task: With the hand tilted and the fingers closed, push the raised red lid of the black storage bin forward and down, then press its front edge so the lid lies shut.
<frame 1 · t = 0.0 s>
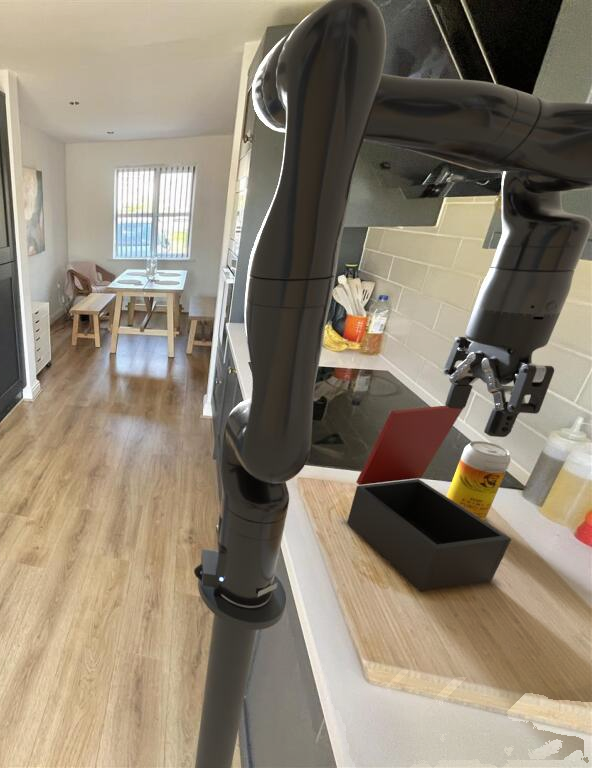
hand: (473, 420, 56), 28 cm above the countertop, tool pointing down, fingers open, 8 cm apart
lid: (407, 446, 69), point 17 cm above the countertop, hinge at 80.0°
beer can: (462, 515, 78), on the countertop
black storage bin: (412, 549, 70), on the countertop
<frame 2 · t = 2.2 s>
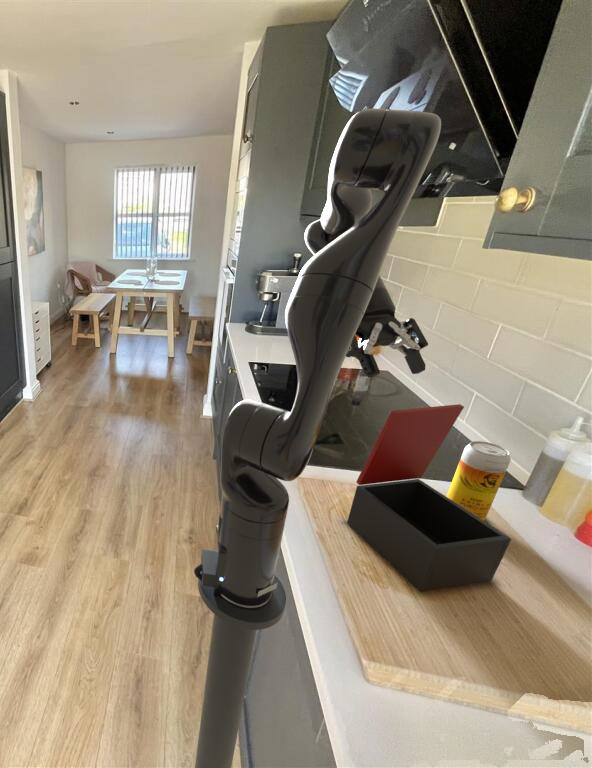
hand: (397, 374, 70), 29 cm above the countertop, tool tilted 45°, fingers open, 8 cm apart
nothing on the countertop moved.
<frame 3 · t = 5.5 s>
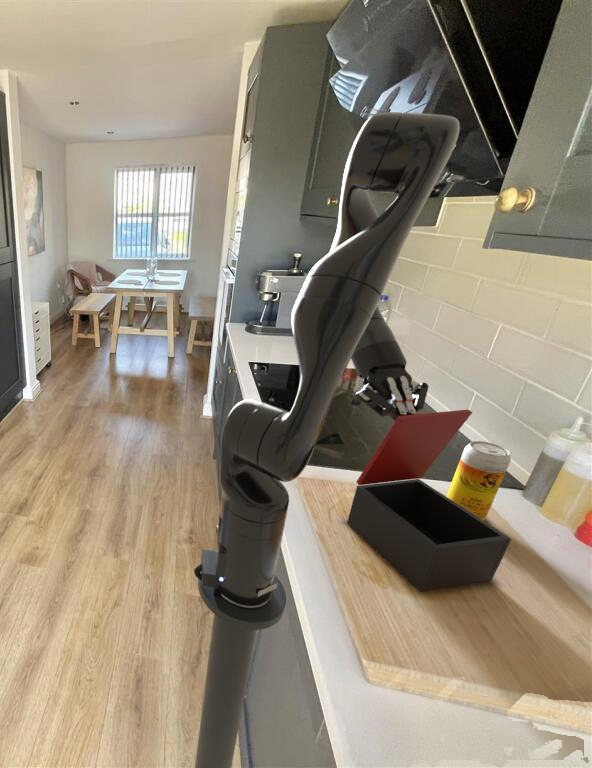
hand: (413, 437, 68), 20 cm above the countertop, tool tilted 45°, fingers closed
lid: (410, 449, 69), point 17 cm above the countertop, hinge at 74.8°, touching gripper
everything else where it was.
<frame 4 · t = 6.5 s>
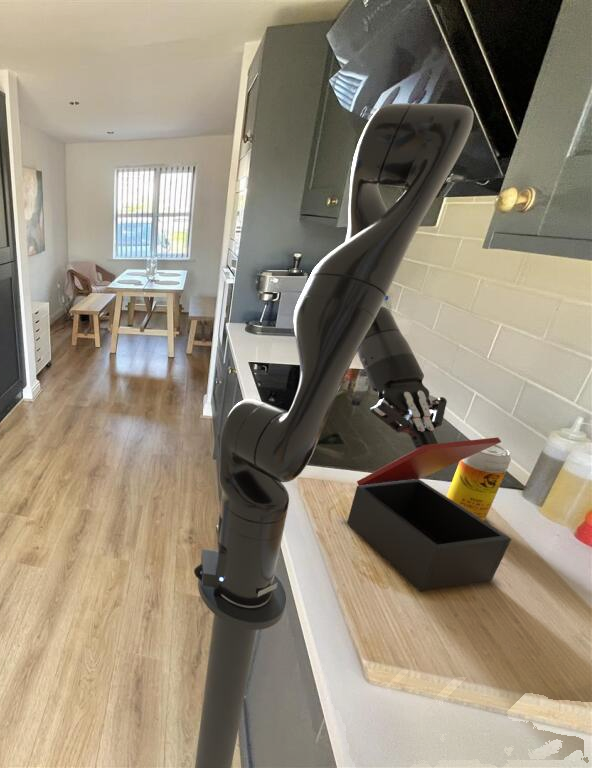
hand: (431, 455, 65), 18 cm above the countertop, tool tilted 45°, fingers closed
lid: (422, 463, 67), point 16 cm above the countertop, hinge at 54.8°
everything else where it was.
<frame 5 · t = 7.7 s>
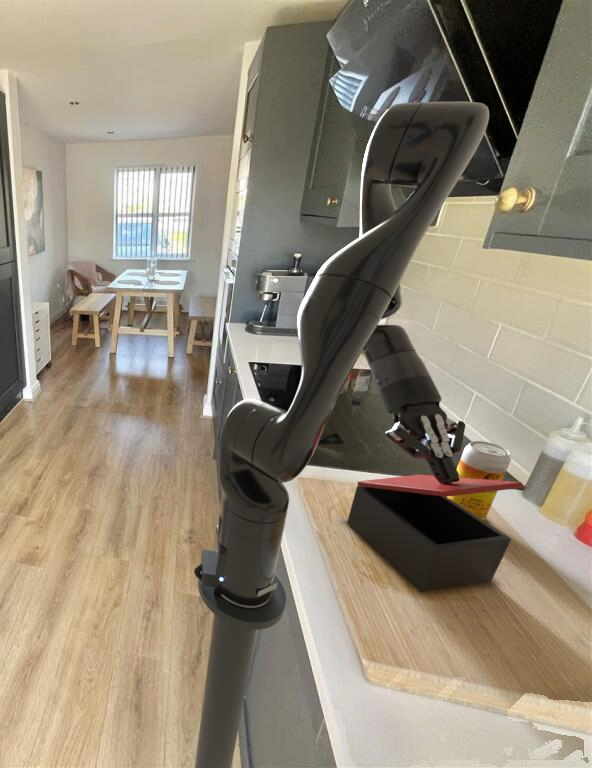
hand: (450, 482, 62), 16 cm above the countertop, tool tilted 45°, fingers closed
lid: (430, 484, 66), point 13 cm above the countertop, hinge at 30.6°, touching gripper
everything else where it was.
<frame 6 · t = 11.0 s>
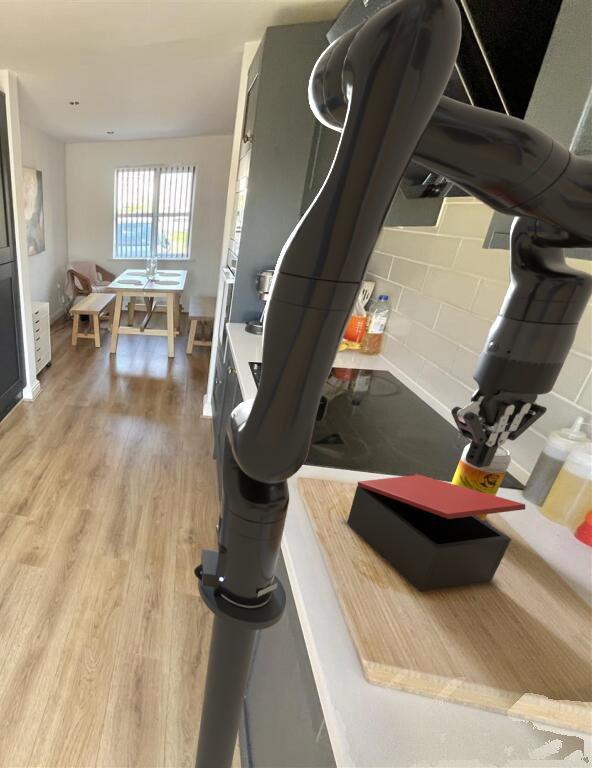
hand: (476, 464, 58), 21 cm above the countertop, tool pointing down, fingers closed
lid: (431, 493, 66), point 12 cm above the countertop, hinge at 19.5°
everything else where it was.
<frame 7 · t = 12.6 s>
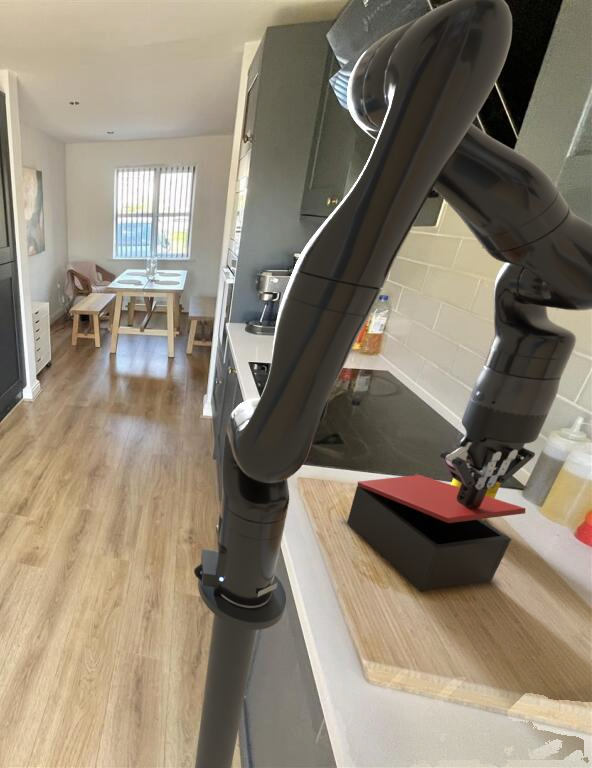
hand: (467, 504, 60), 14 cm above the countertop, tool pointing down, fingers closed
lid: (431, 495, 66), point 12 cm above the countertop, hinge at 17.3°, touching gripper
everything else where it was.
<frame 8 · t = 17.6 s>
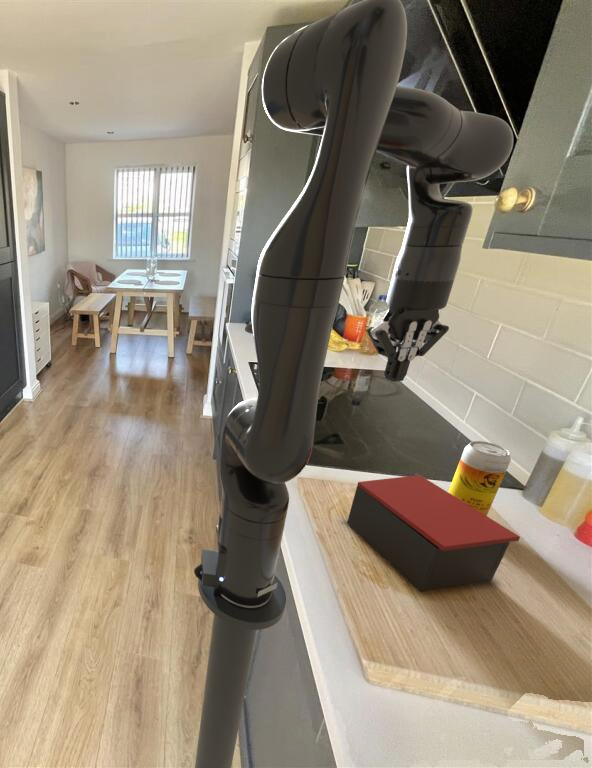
hand: (393, 379, 68), 29 cm above the countertop, tool pointing down, fingers closed
lid: (429, 508, 66), point 9 cm above the countertop, hinge at 1.1°
everything else where it was.
at the end: lid at +1° (first picture: +80°); beer can moved 0.2 cm from its start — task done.
